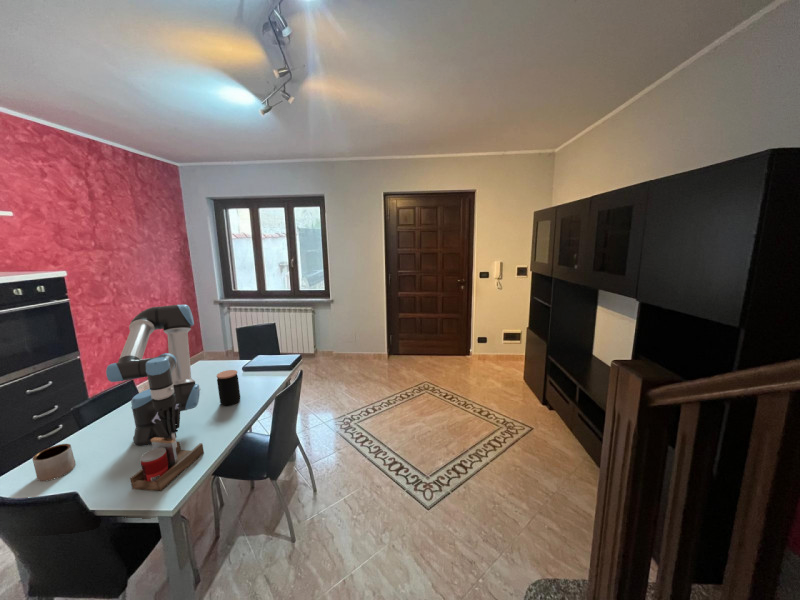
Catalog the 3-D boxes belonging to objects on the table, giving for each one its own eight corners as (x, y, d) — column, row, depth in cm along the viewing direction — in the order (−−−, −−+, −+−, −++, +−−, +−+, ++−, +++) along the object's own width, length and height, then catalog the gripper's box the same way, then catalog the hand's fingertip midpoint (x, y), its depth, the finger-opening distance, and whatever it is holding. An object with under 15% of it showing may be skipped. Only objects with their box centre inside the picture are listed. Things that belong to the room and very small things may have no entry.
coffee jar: (244, 397, 189) (241, 370, 186) (233, 406, 179) (229, 377, 175) (228, 397, 190) (224, 369, 187) (216, 406, 180) (212, 377, 177)
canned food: (174, 473, 126) (170, 448, 124) (154, 487, 119) (149, 462, 117) (161, 469, 128) (156, 445, 126) (140, 483, 121) (135, 458, 119)
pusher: (156, 470, 128) (150, 439, 125) (159, 467, 129) (154, 437, 127) (176, 471, 127) (171, 441, 124) (179, 469, 128) (174, 438, 126)
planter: (76, 471, 130) (71, 450, 128) (37, 486, 122) (31, 464, 120) (75, 459, 137) (70, 440, 135) (37, 473, 129) (32, 452, 127)
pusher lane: (132, 489, 119) (130, 478, 119) (179, 451, 141) (177, 441, 140) (161, 491, 118) (159, 480, 117) (203, 453, 139) (202, 443, 138)
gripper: (157, 404, 119) (168, 458, 124) (184, 388, 132) (192, 438, 136) (140, 403, 120) (151, 457, 125) (168, 388, 132) (177, 437, 137)
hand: (173, 447), depth 130 cm, fingers closed
